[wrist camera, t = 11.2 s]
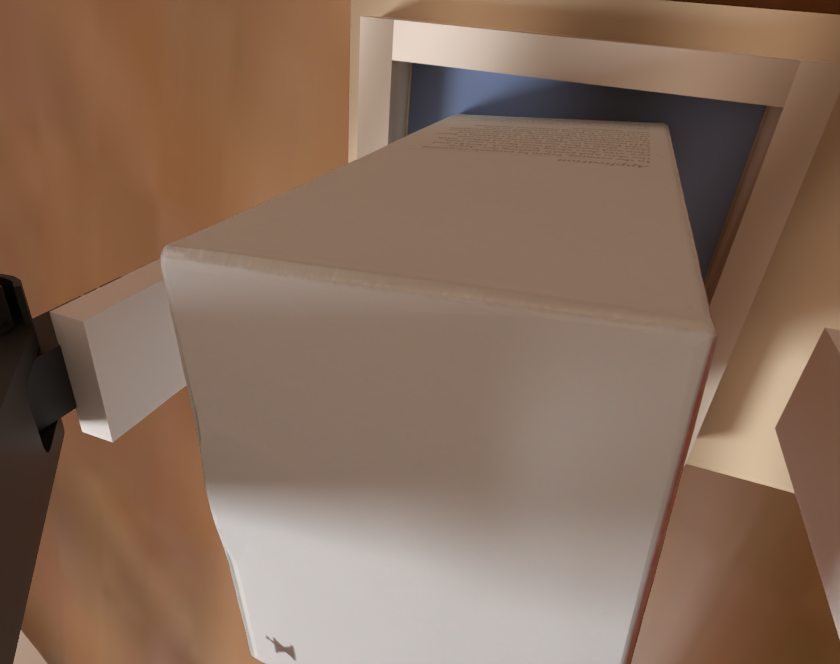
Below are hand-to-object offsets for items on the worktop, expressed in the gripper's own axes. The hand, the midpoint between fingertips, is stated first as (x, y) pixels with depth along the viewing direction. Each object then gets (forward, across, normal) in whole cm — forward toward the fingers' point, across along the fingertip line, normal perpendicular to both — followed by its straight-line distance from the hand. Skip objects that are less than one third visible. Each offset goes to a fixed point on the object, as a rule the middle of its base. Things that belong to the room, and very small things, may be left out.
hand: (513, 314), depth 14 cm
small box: (+5, 0, 0) cm, 5 cm away
